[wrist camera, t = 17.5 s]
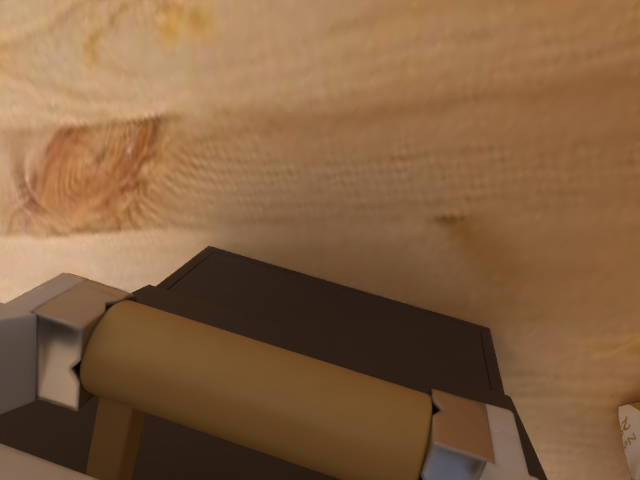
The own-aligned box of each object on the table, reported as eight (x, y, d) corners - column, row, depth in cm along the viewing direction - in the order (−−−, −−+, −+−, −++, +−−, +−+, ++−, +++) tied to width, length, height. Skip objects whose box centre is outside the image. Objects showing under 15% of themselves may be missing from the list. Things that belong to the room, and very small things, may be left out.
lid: (709, 928, 7) (881, 629, 6) (-266, 516, 9) (-260, 245, 8) (504, 413, 20) (545, 300, 19) (145, 300, 22) (166, 193, 21)
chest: (419, 506, 31) (417, 602, 25) (182, 424, 33) (130, 497, 27) (490, 328, 26) (506, 397, 21) (208, 245, 28) (152, 288, 23)
